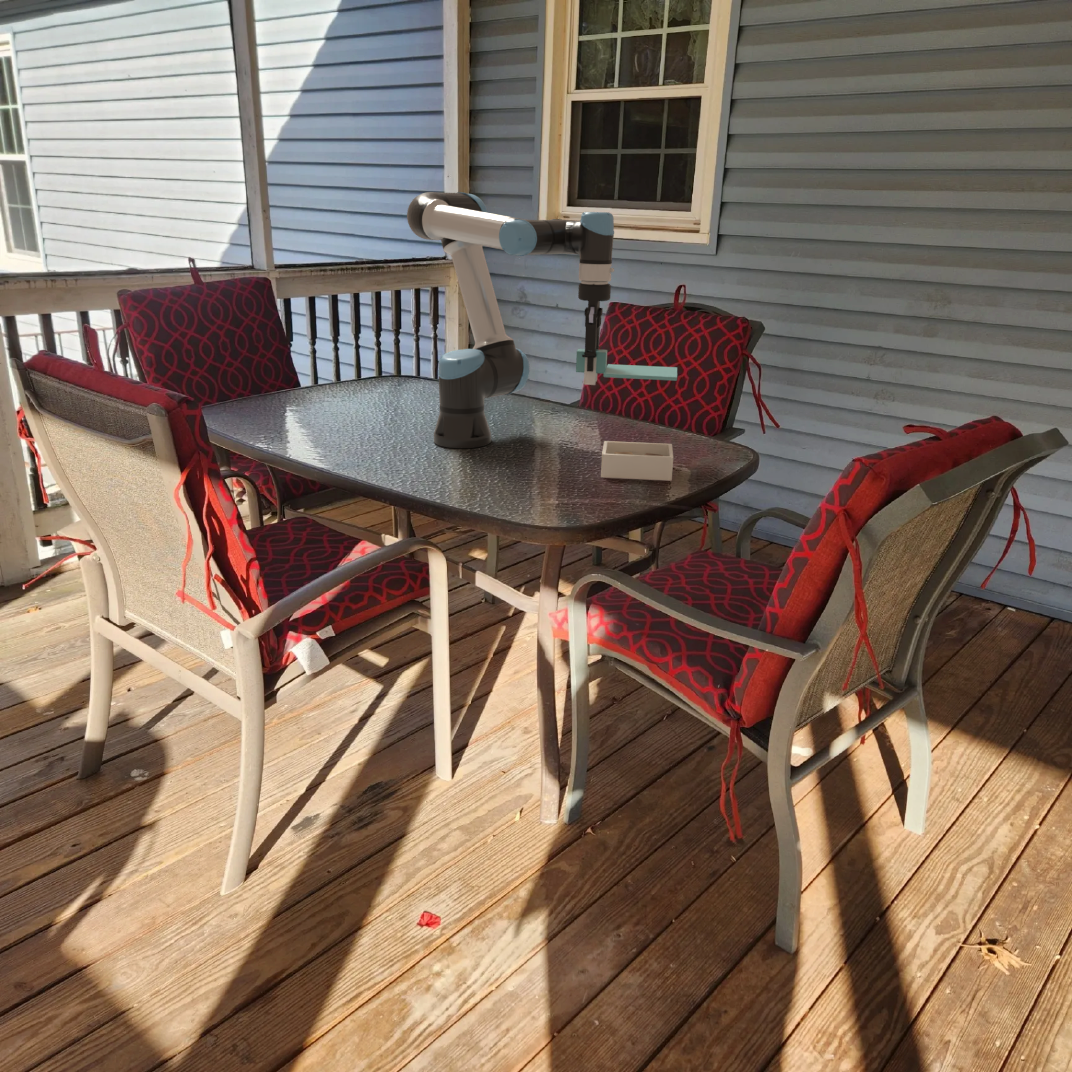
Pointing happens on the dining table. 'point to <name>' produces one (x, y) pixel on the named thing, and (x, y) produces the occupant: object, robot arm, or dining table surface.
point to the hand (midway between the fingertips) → (590, 382)
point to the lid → (625, 368)
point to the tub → (637, 461)
